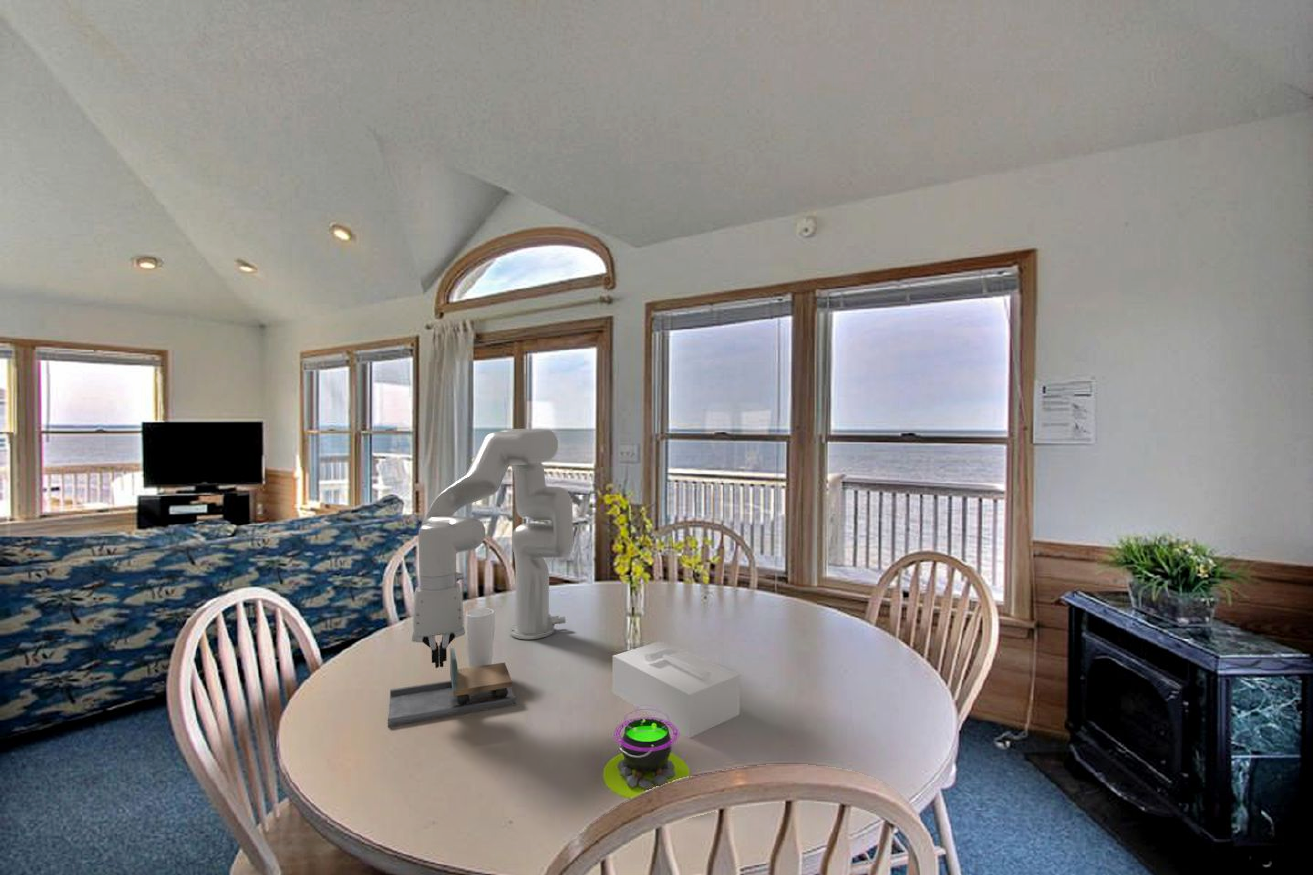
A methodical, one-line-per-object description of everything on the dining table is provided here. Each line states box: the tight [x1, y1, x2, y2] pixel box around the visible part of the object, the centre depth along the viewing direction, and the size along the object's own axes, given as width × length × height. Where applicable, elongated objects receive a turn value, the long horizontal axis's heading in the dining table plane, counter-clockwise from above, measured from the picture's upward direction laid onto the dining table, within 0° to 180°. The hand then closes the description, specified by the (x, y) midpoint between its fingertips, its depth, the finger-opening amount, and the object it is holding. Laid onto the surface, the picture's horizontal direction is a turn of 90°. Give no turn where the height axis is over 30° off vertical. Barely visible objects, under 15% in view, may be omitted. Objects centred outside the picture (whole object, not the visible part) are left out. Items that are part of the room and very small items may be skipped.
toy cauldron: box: [602, 705, 691, 800], centre depth 101 cm, size 15×15×11 cm
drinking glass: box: [464, 607, 496, 668], centre depth 141 cm, size 7×7×15 cm
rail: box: [387, 679, 517, 728], centre depth 127 cm, size 25×14×2 cm, turn 113°
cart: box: [449, 647, 513, 705], centre depth 129 cm, size 12×11×9 cm
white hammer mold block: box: [611, 640, 741, 739], centre depth 127 cm, size 14×25×11 cm, turn 40°
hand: (439, 664), depth 126 cm, fingers closed
